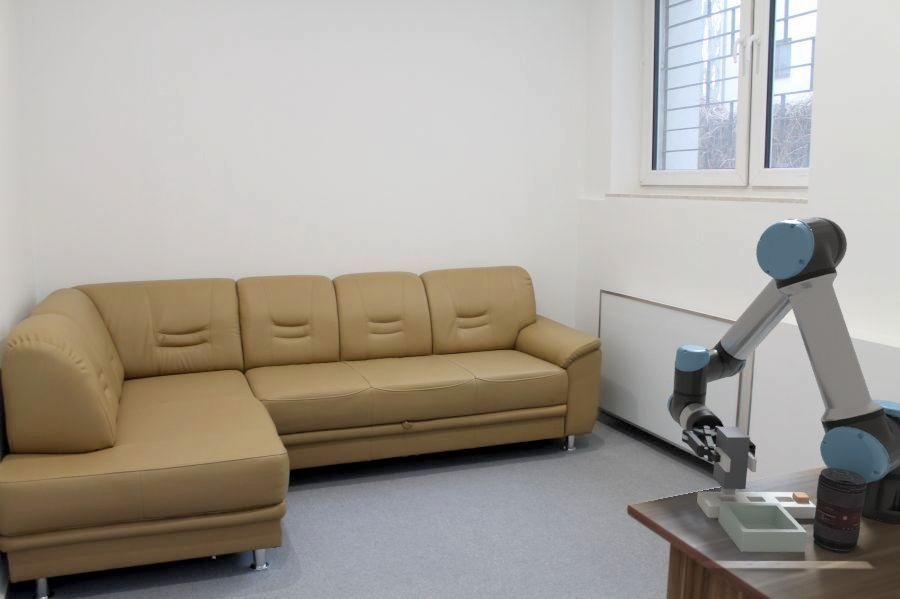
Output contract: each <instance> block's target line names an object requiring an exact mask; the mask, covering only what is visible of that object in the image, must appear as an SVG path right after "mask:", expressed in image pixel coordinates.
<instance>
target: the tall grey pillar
mask: <svg viewBox="0 0 900 599" xmlns="http://www.w3.org/2000/svg"><path fill="white" fill-rule="evenodd" d="M750 441H751V437H750V436H749V435H748V434H747V433H746V432H745V431H744V430H742V429H741V428H740V427H739V426H724V427H717V434H716V445H714V446H715V447H719V448H720V449H721V450H722V451H723V452H724V453H725V454H726V455H727V456H728V457H729V458H730V459H731V462H730V472H725V470H724V469H723V468H722V467H721V466H720V465H719V464H718V463H717V462H714V461H713V471H712V472H713V473H712V477H713V478H714V480H715V481H716V482H717V483H718V484H719V486H721V490H720V492H722V493H723V495H735V492H736V491H737V490H746V487H747V486H746V485H747V476H748V475H747V473H748V468H747V465H748V454H749V443H750Z"/></svg>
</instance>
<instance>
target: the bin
mask: <svg viewBox="0 0 900 599" xmlns="http://www.w3.org/2000/svg"><path fill="white" fill-rule="evenodd" d="M717 519H718V520H717V522H718V523H719V525H720V526H721V527H722V529H723V530H724V531H725V533H726V534H727V536H728V537H729V538H730V539H731V541H732V542H733V543H734V544H735V546H736V547H737V549H738V550H739V551H740V552H741V553H806V552H805V551H806V545H807V544H806V543H807V534H808V532H807V531H806V529H804V527H803V526H802V525H801V524H800V523H799V522H798V521H797V519H794V518H793V517H792V516H791V515H790V514H789V513H788V512H787V511H786V510H785V509H784V508H783V507H782V506H781V505H780V504H779V503H720V507H719V518H717Z"/></svg>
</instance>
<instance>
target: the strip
mask: <svg viewBox="0 0 900 599" xmlns="http://www.w3.org/2000/svg"><path fill="white" fill-rule="evenodd" d="M696 497H697V500H696V504H697V505H698V506H699V508H700V509H701V510H702V511H703V513H704V515H706V517H707V518H708V519H718V518H719V507H720V503H779V504H780V505H781V506H782V507H783V508H784V509H785V510H786V511H787V512H788V513H789V514H790V515H791V516H792V517H793V518H794V519H795V520H797V519H800V520H801V519H803V520H804V519H811V520H812V519H813V520H814V517H815V511H816V505H815V504H814V503H813V502H812V501H811V500H810V496H809V495H807V493H806V492H801V491H735V495H723V493H722V492H721V491H697V496H696Z"/></svg>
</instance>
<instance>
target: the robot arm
mask: <svg viewBox="0 0 900 599" xmlns="http://www.w3.org/2000/svg"><path fill="white" fill-rule="evenodd" d="M847 247H848V242H847V238H846V234H845V231H844V230H843V229H842V227H840V225H838V224H837V223H836V222H835V221H833V220H831V219H828V218H827V217H826V218H825V217H820V216H819V217H818V216H815V217H810V218H808V217H807V218H789V219H786V220H782V221H778V222H775V223H773V224H771V225H769V227H767V228H766V229H765V230H764V231H763V233H761V236H759V239H758V241H757V244H756V249H755V250H756V253H755V255H756V261H757V263H758V265H759V267H760V269H761V270H762V272H764V273H765V274H767V275H768V276H769V277H771V278H772V279H770V281H769V282H768V284H767V285H765V287H764V288H763V289H762V290H761V291H760V292H759V294H757V296H756V297H755V298H754V300H753V301H752V302H751V303H750V304H749V305H748V307H746V309H745V310H744V311H743V312H742V313H741V315H740V316H738V318H737V319H736V320H735V322H734V323H733V324H732V325H731V327H730V328H728V330H727V331H726V332H725V334H724V335H723V336H722V337H721V338H720V340H719V341H718V342H716V344H715V345H714V347H712V348H711V349H708V348H706V347H705V346H702V345H697V344H695V345H694V344H689V345H688V344H685V345H680V346H679V347H678V348H677V350H676V354H675V360H674V373H673V375H674V376H673V391H672V394H670V396H669V398H668V400H667V404H666V405H667V407H666V408H667V411H668V413H669V415H670V416H671V418H672V419H673V421H674V422H676V423H677V424H678V425H679V426H680V427H681V429H682V433H681V434H682V435H681V441H682V443H684V444H687V445H688V447H690V448H691V450H692V451H693V452H694V453H695V454H696V456H697V457H699V458H704V457H705V456H706V457H707V462H710V463H714V462H717V463H718V464H719V465H720V466H721V467H722V468H723V469H724V470H725V472H730V462H731V459H730V458H729V457H728V456H727V455H726V454H725V453H724V452H723V451H722V450H721V449H720V448H719V447H715V446H716V434H717V427H725V426H724V423H723V422H722V420H721V419H720V418H719V417H718V416H717V415H716V414H715V413H714V412H713V411H712V410H711V409H710V408H708V406H706V400H707V399H706V397H707V389H708V383H711V382H714V381H718V380H723V379H725V378H730V377H734V376H736V375H737V374H739V373H741V372H742V371H744V369H745V367H746V364H747V359H748V358H749V357H750V356H751V354H752V353H753V352H755V350H756V349H757V347H759V345H761V344H762V342H763V341H764V340H765V339H766V338H767V337H768V336H769V334H771V332H772V331H773V330H774V329H776V327H777V326H778V325H779V323H781V321H782V320H783V319H784V318H785V317H786V316H787V315H788V314H789V312H790V311H791V310H792V311H793V315H794V317H795V320H796V324H797V327H798V329H799V332H800V336H801V339H802V341H803V342H802V343H803V345H804V348H805V351H806V354H807V358H808V360H809V362H810V366H811V369H812V372H813V375H814V378H815V380H816V384H817V387H818V390H819V392H820V396H821V399H822V402H823V403H822V404H824V408H825V409H824V412H823V414H822V416H821V418H820V421H821V425H822V428H823V431H824V436H823V438H822V440H821V442H820V446H819V447H820V448H819V450H820V456H821V459H822V462H823V463H824V465H825V466H826V467H827V468H839V469H844V470H849V471H852V472H855V473H858V474H860V475H861V476H863V477H864V478H865V480H866V494H865V501H864V505H863V508H862V513H861V516H862V515H863V516H865V517H867V518H870V519H872V520H873V519H874V520H877V521H879V522H885V523H889V524H898V525H899V524H900V402H896V401H891V400H884V399H872V397H871V394H870V391H869V388H868V386H867V382H866V378H865V377H864V373H863V371H862V367H861V365H860V362H859V359H858V356H857V353H856V351H855V347H854V344H853V341H852V339H851V336H850V332H849V329H848V327H847V323H846V321H845V318H844V314H843V312H842V309H841V307H840V302H839V300H838V297H837V294H836V292H835V288H834V286H833V285H834V281H835V279H836V278H837V276H838V272H837V269H836V268H837V267H838V266H839V265H840V263H841V262H842V261H843V259H844V257H845V256H846V252H847V249H848V248H847ZM756 448H757V445H755V443H754V442H753V441H751V440H750V443H749V454H748V465H747V470H749V471H750V472H751V473H756V471H757V461H758V459H757V458H756Z"/></svg>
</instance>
